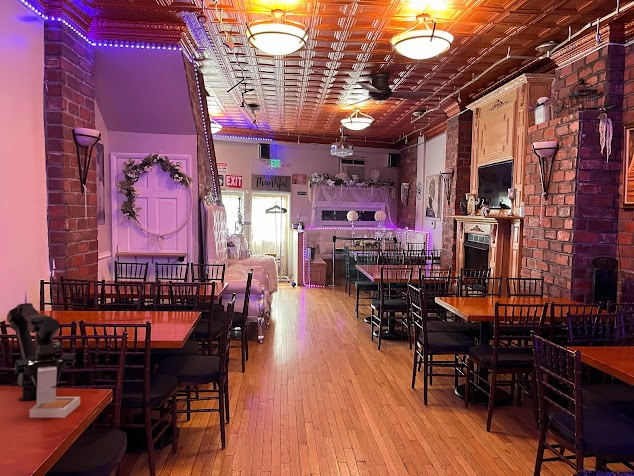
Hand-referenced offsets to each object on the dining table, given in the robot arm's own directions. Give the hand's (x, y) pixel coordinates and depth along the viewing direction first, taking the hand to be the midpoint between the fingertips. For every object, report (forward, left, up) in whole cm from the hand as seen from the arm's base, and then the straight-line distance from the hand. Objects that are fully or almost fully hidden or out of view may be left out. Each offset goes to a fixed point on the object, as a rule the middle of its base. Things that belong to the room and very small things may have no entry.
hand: (46, 384), depth 168 cm
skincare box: (-1, -1, -7) cm, 7 cm away
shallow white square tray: (-8, -1, -13) cm, 15 cm away
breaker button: (-8, -1, -11) cm, 14 cm away
